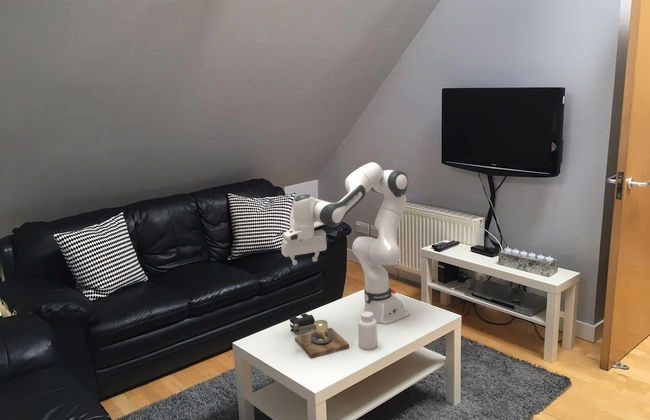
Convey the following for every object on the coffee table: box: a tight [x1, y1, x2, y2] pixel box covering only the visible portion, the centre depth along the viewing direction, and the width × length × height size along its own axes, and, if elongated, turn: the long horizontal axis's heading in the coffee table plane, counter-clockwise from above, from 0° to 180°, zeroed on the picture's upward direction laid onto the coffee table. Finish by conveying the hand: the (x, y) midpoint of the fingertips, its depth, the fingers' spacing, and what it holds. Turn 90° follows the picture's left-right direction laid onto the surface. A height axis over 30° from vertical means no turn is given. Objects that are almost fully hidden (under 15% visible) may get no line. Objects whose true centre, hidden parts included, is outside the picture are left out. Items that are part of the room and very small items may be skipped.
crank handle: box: [292, 319, 329, 340], centre depth 243 cm, size 16×10×8 cm, turn 115°
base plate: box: [294, 327, 350, 359], centre depth 247 cm, size 18×18×2 cm
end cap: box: [289, 313, 316, 333], centre depth 260 cm, size 10×7×7 cm
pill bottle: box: [357, 311, 378, 351], centre depth 242 cm, size 8×8×15 cm
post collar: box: [311, 332, 332, 345], centre depth 246 cm, size 9×9×2 cm
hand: (304, 262), depth 246 cm, fingers open, 8 cm apart
